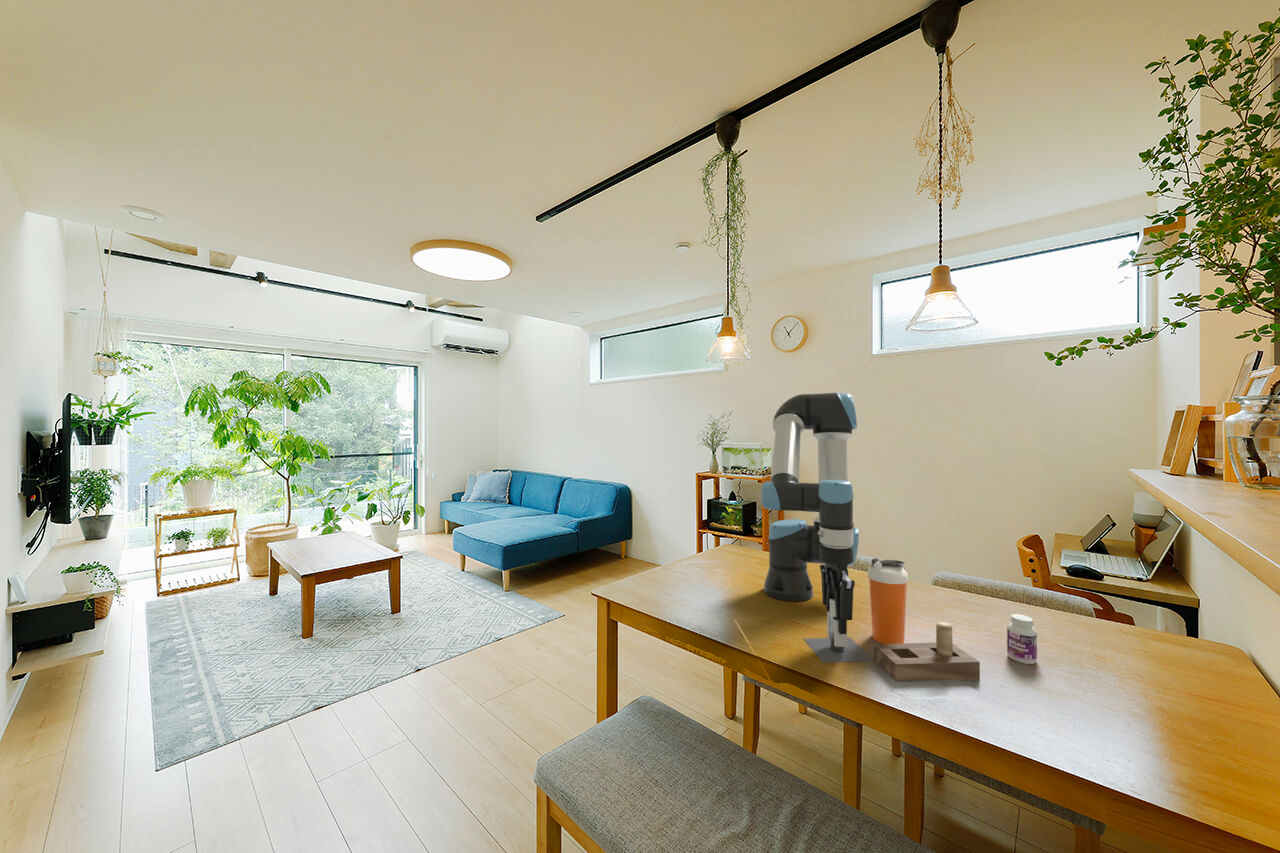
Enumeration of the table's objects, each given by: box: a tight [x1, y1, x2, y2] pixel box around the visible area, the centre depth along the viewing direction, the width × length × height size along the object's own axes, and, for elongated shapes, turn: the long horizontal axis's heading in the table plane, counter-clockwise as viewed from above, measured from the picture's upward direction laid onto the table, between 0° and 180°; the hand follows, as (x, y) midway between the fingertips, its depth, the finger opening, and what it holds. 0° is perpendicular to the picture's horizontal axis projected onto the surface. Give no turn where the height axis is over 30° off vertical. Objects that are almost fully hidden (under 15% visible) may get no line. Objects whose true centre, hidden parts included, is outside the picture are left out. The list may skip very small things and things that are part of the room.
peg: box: [830, 597, 845, 653], centre depth 113 cm, size 3×3×12 cm
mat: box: [803, 636, 875, 664], centre depth 113 cm, size 12×12×1 cm
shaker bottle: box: [867, 557, 909, 644], centre depth 118 cm, size 9×9×20 cm
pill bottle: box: [1006, 613, 1038, 665], centre depth 108 cm, size 5×5×10 cm
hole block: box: [873, 642, 981, 683], centre depth 104 cm, size 9×18×4 cm, turn 92°
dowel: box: [935, 621, 953, 657], centre depth 104 cm, size 3×3×10 cm
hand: (837, 641), depth 113 cm, fingers closed on peg, 3 cm apart
